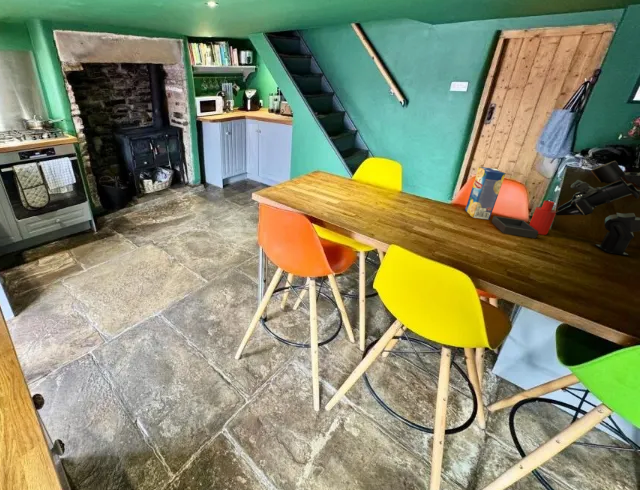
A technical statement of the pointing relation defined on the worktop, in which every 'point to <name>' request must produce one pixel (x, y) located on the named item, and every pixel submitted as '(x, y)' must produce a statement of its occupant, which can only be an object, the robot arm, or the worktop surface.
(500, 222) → the tray
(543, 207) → the ketchup bottle
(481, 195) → the cracker box
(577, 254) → the worktop surface
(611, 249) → the robot arm
